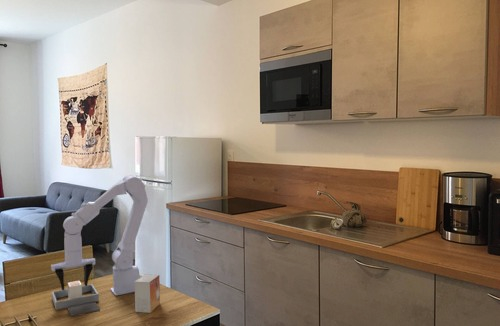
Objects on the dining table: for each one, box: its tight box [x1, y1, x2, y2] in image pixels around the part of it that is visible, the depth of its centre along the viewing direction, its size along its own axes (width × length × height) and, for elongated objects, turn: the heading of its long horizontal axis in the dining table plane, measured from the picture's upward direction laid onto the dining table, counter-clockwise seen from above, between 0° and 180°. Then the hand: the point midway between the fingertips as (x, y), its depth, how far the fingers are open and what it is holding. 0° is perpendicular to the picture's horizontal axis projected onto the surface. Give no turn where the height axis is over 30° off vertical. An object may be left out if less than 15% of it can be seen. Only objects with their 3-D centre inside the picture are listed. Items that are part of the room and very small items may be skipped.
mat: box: [66, 301, 100, 318], centre depth 137 cm, size 9×8×1 cm
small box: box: [134, 273, 161, 314], centre depth 137 cm, size 8×6×10 cm
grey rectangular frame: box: [51, 283, 100, 311], centre depth 146 cm, size 14×12×2 cm
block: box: [67, 280, 83, 300], centre depth 146 cm, size 4×5×6 cm
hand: (74, 287), depth 146 cm, fingers open, 7 cm apart
